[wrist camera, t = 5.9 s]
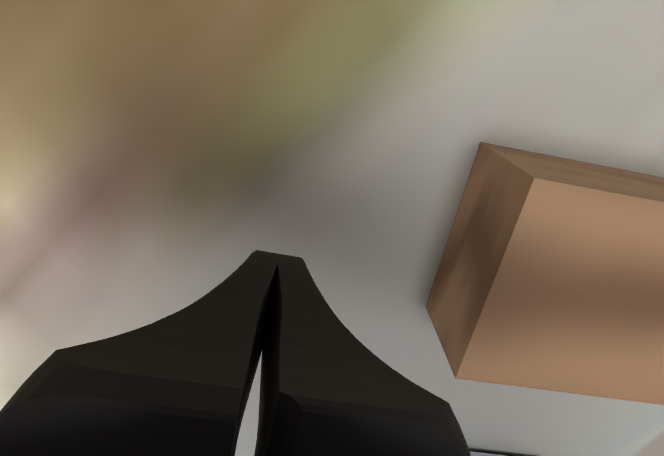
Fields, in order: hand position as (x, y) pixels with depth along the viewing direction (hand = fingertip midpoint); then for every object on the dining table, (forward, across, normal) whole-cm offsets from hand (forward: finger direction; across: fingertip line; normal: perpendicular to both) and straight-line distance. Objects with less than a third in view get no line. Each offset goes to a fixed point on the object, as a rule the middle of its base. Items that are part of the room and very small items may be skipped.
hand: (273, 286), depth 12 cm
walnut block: (+8, -12, 0) cm, 14 cm away
